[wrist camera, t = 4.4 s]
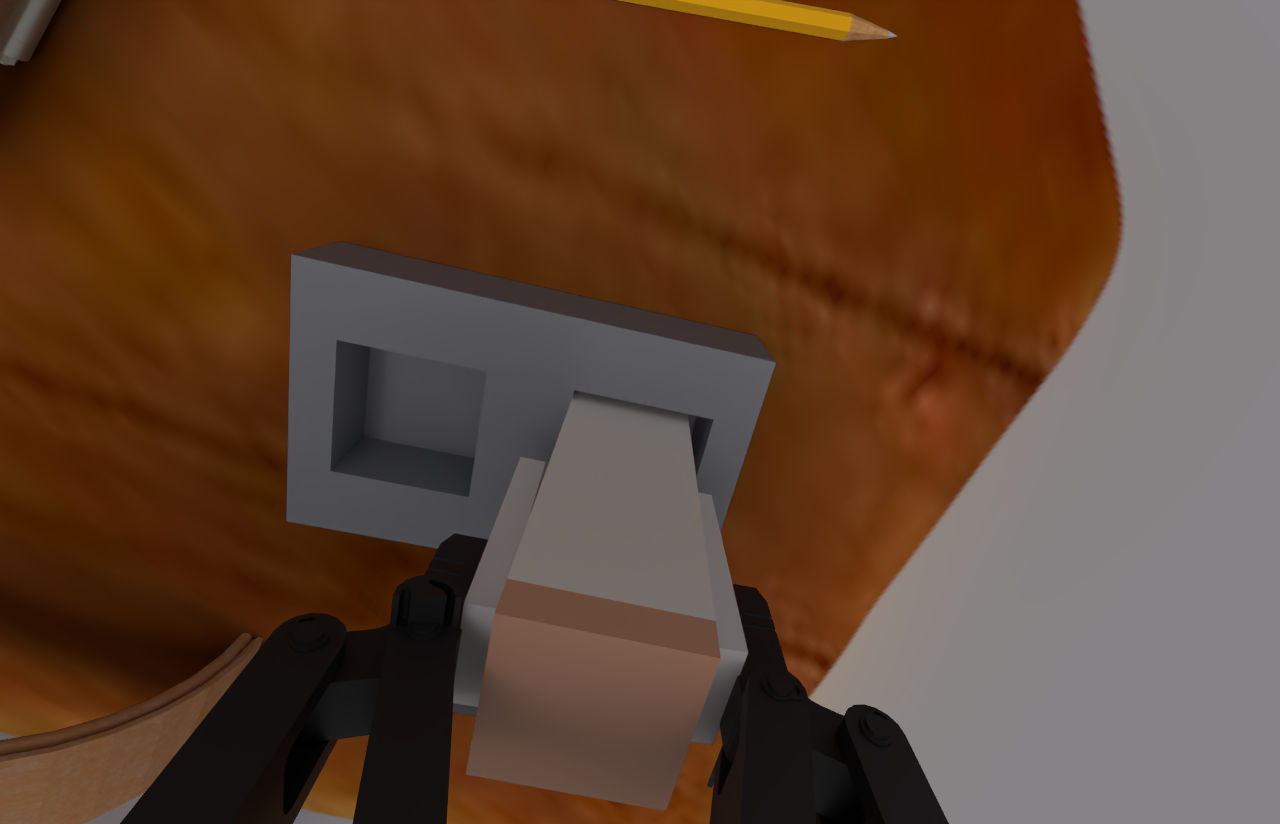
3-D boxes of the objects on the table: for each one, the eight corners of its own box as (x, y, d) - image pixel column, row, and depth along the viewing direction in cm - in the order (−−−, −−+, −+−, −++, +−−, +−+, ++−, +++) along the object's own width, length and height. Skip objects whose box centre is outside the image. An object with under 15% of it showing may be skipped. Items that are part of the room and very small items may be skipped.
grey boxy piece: (329, 476, 26) (286, 521, 23) (340, 241, 22) (291, 254, 19) (691, 545, 28) (699, 595, 24) (756, 335, 24) (776, 362, 21)
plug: (554, 488, 24) (466, 774, 12) (575, 389, 22) (494, 612, 11) (660, 511, 24) (665, 810, 13) (687, 414, 22) (721, 658, 11)
